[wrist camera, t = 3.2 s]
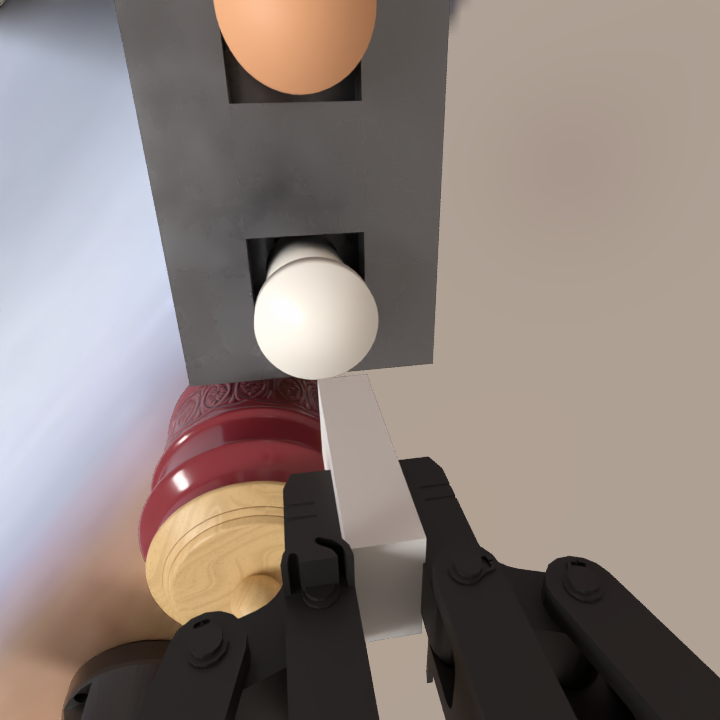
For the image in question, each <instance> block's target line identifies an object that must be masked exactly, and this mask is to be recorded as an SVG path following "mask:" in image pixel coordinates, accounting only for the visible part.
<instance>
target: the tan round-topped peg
mask: <svg viewBox="0 0 720 720" xmlns="http://www.w3.org/2000/svg"><path fill="white" fill-rule="evenodd" d="M213 1H214V7H215V13H216V17H217V20H218V24H219V27H220V30H221V32H222V34H223V37H224V39H225V41H226V43H227V45H228V47H229V48H230V50H231V52H232V54H233V55H234V56H235V58H236V59H237V61H238V62H239V63H240V65H241V66H242V67H243V68H244V69H245V70H246V71H247V72H248V73H249V74H250V75H251V76H252V77H253V78H255V79H256V80H257V81H259V82H260V83H262V84H263V85H265V86H267V87H269V88H271V89H273V90H276V91H279V92H282V93H286V94H291V95H306V94H313V93H317V92H320V91H323V90H325V89H328V88H330V87H332V86H334V85H335V84H337V83H339V82H340V81H342V80H343V79H344V78H345V77H347V76H348V75H349V74H350V73H351V72H352V71H353V69H354V68H355V67H356V66H357V64H358V63H359V62H360V60H361V59H362V57H363V55H364V53H365V52H366V50H367V47H368V45H369V42H370V40H371V37H372V33H373V30H374V25H375V19H376V5H377V1H376V0H213Z"/></svg>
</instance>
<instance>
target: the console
mask: <svg viewBox="0 0 720 720" xmlns="http://www.w3.org/2000/svg"><path fill="white" fill-rule="evenodd" d="M114 1H115V6H116V11H117V17H118V22H119V27H120V32H121V37H122V42H123V47H124V52H125V57H126V62H127V67H128V73H129V78H130V83H131V88H132V93H133V98H134V103H135V108H136V113H137V118H138V124H139V129H140V134H141V139H142V144H143V149H144V154H145V159H146V164H147V169H148V175H149V180H150V185H151V190H152V195H153V200H154V205H155V210H156V215H157V220H158V226H159V231H160V236H161V241H162V246H163V251H164V256H165V261H166V266H167V271H168V276H169V282H170V287H171V292H172V297H173V302H174V307H175V312H176V317H177V322H178V327H179V333H180V338H181V343H182V348H183V353H184V358H185V363H186V368H187V373H188V378H189V384H190V387H192V386H202V385H213V384H223V383H234V382H244V381H255V380H265V379H276V378H286V377H294V376H291V375H289V374H287V373H285V372H283V371H281V370H280V369H278V368H277V367H275V366H274V365H273V364H272V363H271V362H270V361H269V360H268V359H267V358H266V357H265V355H264V354H263V352H262V351H261V349H260V347H259V345H258V342H257V339H256V336H255V331H254V313H255V304H256V300H257V296H258V294H259V291H260V289H261V288H262V286H263V284H264V283H265V281H266V261H267V257H268V254H269V252H270V250H271V248H272V247H273V245H274V244H275V243H276V242H277V241H278V240H279V239H281V238H282V237H285V236H302V235H319V234H320V235H322V236H324V237H326V238H327V239H328V240H329V241H330V242H331V243H332V244H333V245H334V246H335V248H336V249H337V251H338V253H339V255H340V257H341V259H342V261H343V263H344V264H345V265H347V266H349V267H350V268H352V269H353V270H354V271H355V272H356V273H357V274H358V275H359V276H360V277H361V278H362V279H363V281H364V282H365V283H366V285H367V287H368V289H369V290H370V292H371V294H372V296H373V298H374V300H375V303H376V306H377V311H378V330H377V334H376V337H375V340H374V343H373V345H372V347H371V349H370V350H369V352H368V353H367V355H366V356H365V357H364V358H363V359H362V360H361V361H360V362H359V363H358V364H357V365H356V366H354V367H353V368H351V369H350V370H348V371H359V370H370V369H380V368H391V367H401V366H412V365H421V364H432V363H433V345H434V325H435V304H436V282H437V262H438V261H437V260H438V241H439V218H440V199H441V177H442V156H443V135H444V134H443V133H444V115H445V93H446V72H447V51H448V30H449V9H450V0H376V1H377V5H376V19H375V25H374V30H373V33H372V37H371V40H370V42H369V45H368V47H367V50H366V52H365V53H364V55H363V57H362V59H361V60H360V62H359V63H358V64H357V66H356V67H355V68H354V69H353V71H352V72H351V73H350V74H349V75H348V76H347V77H345V78H344V79H343V80H342V81H340V82H339V83H337V84H335V85H334V86H332V87H330V88H328V89H325V90H323V91H320V92H317V93H313V94H306V95H291V94H286V93H282V92H279V91H276V90H273V89H271V88H269V87H267V86H265V85H263V84H262V83H260V82H259V81H257V80H256V79H255V78H253V77H252V76H251V75H250V74H249V73H248V72H247V71H246V70H245V69H244V68H243V67H242V66H241V65H240V63H239V62H238V61H237V59H236V58H235V56H234V55H233V54H232V52H231V50H230V48H229V47H228V45H227V43H226V41H225V39H224V37H223V34H222V32H221V30H220V27H219V24H218V20H217V17H216V13H215V7H214V1H213V0H114ZM348 371H346V372H348Z"/></svg>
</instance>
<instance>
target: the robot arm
mask: <svg viewBox="0 0 720 720" xmlns="http://www.w3.org/2000/svg"><path fill="white" fill-rule="evenodd" d="M317 381H318V396H319V410H320V425H321V440H322V454H323V461H324V467H325V470H322V471H314V472H305V473H297V474H291V475H290V477H289V478H288V480H287V482H286V484H285V486H284V488H283V507H284V509H283V511H284V541H285V551H284V553H283V555H282V559H281V564H280V567H281V575H282V583H283V585H282V587H281V589H280V590H279V592H278V593H277V595H276V596H275V597H274V598H273V599H272V600H271V601H270V602H269V603H267V604H266V605H265V606H263V607H261V608H259V609H258V610H256V611H254V612H252V613H249V614H247V615H245V616H243V617H241V618H239V619H238V618H237V617H236V616H235V615H233V614H231V613H227V612H223V611H214V612H205V613H203V614H201V615H199V616H196V617H194V618H192V619H190V620H189V621H188V622H187V623H186V624H184V625H183V626H182V627H181V628H180V629H179V630H178V631H177V632H176V634H175V636H174V637H173V639H172V640H171V642H170V641H145V642H136V643H131V644H126V645H122V646H119V647H115V648H113V649H110V650H107V651H105V652H103V653H101V654H99V655H97V656H95V657H94V658H92V659H91V660H89V661H88V662H87V663H85V664H84V665H83V666H82V667H81V668H80V669H79V670H78V672H77V673H76V674H75V676H74V677H73V679H72V681H71V684H70V687H69V690H68V693H67V696H66V699H65V702H64V705H63V709H62V720H379V715H378V710H377V705H376V699H375V694H374V688H373V682H372V677H371V671H370V666H369V660H368V655H367V649H366V643H365V642H371V641H377V640H383V639H389V638H395V637H401V636H407V635H413V634H419V633H421V632H422V618H423V622H424V625H425V629H426V632H427V635H428V654H427V670H426V673H427V683H431V682H432V681H433V677H434V680H435V684H436V687H437V691H438V694H439V698H440V701H441V704H442V708H443V712H444V715H445V719H446V720H720V678H719V677H718V676H717V675H716V674H715V673H714V672H713V671H712V670H711V669H710V668H709V667H708V666H706V664H704V663H703V661H701V660H700V659H699V658H698V657H697V656H696V655H695V654H694V653H693V652H692V651H691V650H690V649H689V648H688V647H687V646H686V645H685V644H683V642H682V641H680V640H679V639H678V638H677V637H676V636H675V635H674V634H673V633H672V632H671V631H670V630H669V629H668V628H667V627H666V626H665V625H664V624H663V623H662V622H660V620H659V619H657V618H656V617H655V616H654V615H653V614H652V613H651V612H650V611H649V610H648V609H647V608H646V607H645V606H644V605H643V604H642V603H641V602H640V601H639V600H637V599H636V598H635V597H634V596H633V595H632V594H631V593H630V592H629V591H628V590H627V589H626V588H625V587H624V586H623V585H622V584H621V583H619V581H618V580H617V579H616V578H614V577H613V576H612V575H611V574H610V573H609V572H608V571H606V570H605V569H604V568H602V567H601V566H600V565H598V564H597V563H594V562H592V561H589V560H587V559H585V558H580V557H573V556H567V557H562V558H557V559H556V560H554V561H553V562H551V563H550V564H549V565H548V568H547V570H546V572H538V571H531V570H524V569H517V568H513V567H509V566H506V565H504V564H501V563H499V562H498V561H497V560H496V559H495V557H494V556H493V555H492V554H491V553H489V552H488V551H486V550H485V549H484V548H482V547H480V545H479V544H478V542H477V540H476V538H475V536H474V534H473V532H472V530H471V528H470V525H469V523H468V521H467V519H466V517H465V515H464V513H463V511H462V509H461V507H460V504H459V502H458V500H457V498H455V494H454V492H453V490H452V488H451V486H450V485H449V481H448V479H447V477H446V475H445V473H444V471H443V469H442V468H441V467H440V466H439V465H437V463H435V462H434V461H433V460H432V459H431V458H429V457H421V458H413V459H405V460H398V459H397V456H396V453H395V450H394V448H393V445H392V442H391V439H390V436H389V434H388V431H387V428H386V425H385V423H384V420H383V417H382V414H381V412H380V409H379V406H378V404H377V401H376V398H375V395H374V392H373V390H372V387H371V384H370V381H369V379H368V376H367V374H365V375H355V376H344V377H333V378H322V379H317Z"/></svg>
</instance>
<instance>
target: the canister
mask: <svg viewBox="0 0 720 720" xmlns="http://www.w3.org/2000/svg"><path fill="white" fill-rule="evenodd" d="M322 470H325V467H324V461H323V454H322V440H321V425H320V410H319V396H318V381H317V380H310V379H302V378H297V377H286V378H276V379H265V380H255V381H244V382H234V383H223V384H213V385H202V386H192V387H190V385H189V386H188V387H187V388H186V390H185V391H184V392H183V394H182V395H181V397H180V398H179V400H178V402H177V404H176V406H175V408H174V411H173V414H172V417H171V420H170V425H169V431H168V440H167V443H166V446H165V450H164V453H163V455H162V457H161V458H160V460H159V462H158V464H157V466H156V468H155V471H154V474H153V478H152V484H151V493H150V495H149V497H148V499H147V500H146V503H145V505H144V507H143V510H142V513H141V516H140V521H139V528H138V537H139V545H140V549H141V553H142V556H143V559H144V561H145V563H146V578H147V583H148V586H149V589H150V591H151V594H152V596H153V597H154V599H155V601H156V602H157V603H158V605H159V606H160V607H161V608H162V609H163V610H164V612H166V613H167V614H168V615H169V616H170V617H171V618H173V619H174V620H175V621H177V622H178V623H180V624H182V625H184V624H186V623H187V622H188V621H189V620H190V619H192V618H194V617H196V616H199V615H201V614H203V613H205V612H214V611H223V612H227V613H231V614H233V615H235V616H236V617H237V618H238V619H239V618H241V617H243V616H245V615H247V614H249V613H252V612H254V611H256V610H258V609H259V608H261V607H263V606H265V605H266V604H267V603H269V602H270V601H271V600H272V599H273V598H274V597H275V596H276V595H277V593H278V592H279V590H280V589H281V587H282V585H283V583H282V575H281V567H280V564H281V559H282V555H283V553H284V551H285V541H284V511H283V509H284V507H283V488H284V486H285V484H286V482H287V480H288V478H289V477H290V475H291V474H297V473H305V472H314V471H322Z"/></svg>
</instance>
